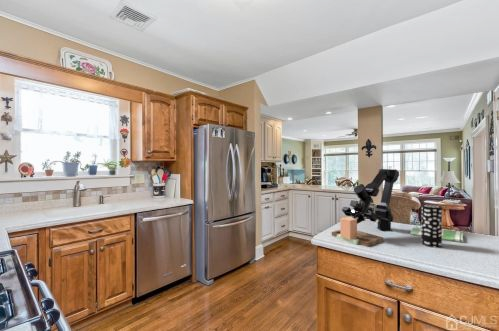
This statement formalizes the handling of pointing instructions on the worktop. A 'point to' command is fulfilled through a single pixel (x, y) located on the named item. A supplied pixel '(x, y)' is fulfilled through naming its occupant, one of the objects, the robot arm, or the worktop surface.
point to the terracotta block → (348, 228)
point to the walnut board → (364, 238)
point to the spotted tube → (431, 226)
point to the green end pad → (354, 241)
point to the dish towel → (446, 234)
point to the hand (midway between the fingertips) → (352, 225)
